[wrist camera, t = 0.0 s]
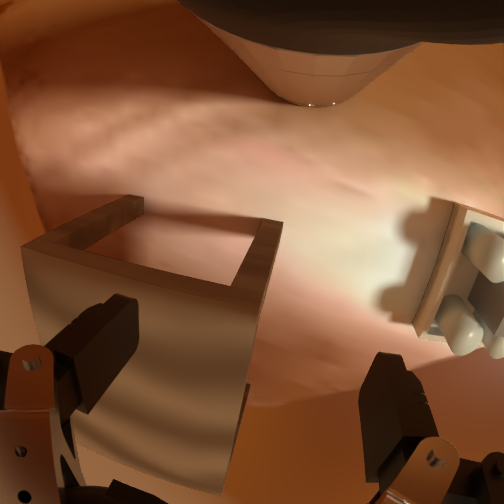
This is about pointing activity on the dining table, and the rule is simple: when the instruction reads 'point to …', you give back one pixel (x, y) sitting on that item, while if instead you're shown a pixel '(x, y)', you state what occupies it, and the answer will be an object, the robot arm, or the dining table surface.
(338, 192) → the dining table surface
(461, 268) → the tray
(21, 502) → the robot arm
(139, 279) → the counter shelf
